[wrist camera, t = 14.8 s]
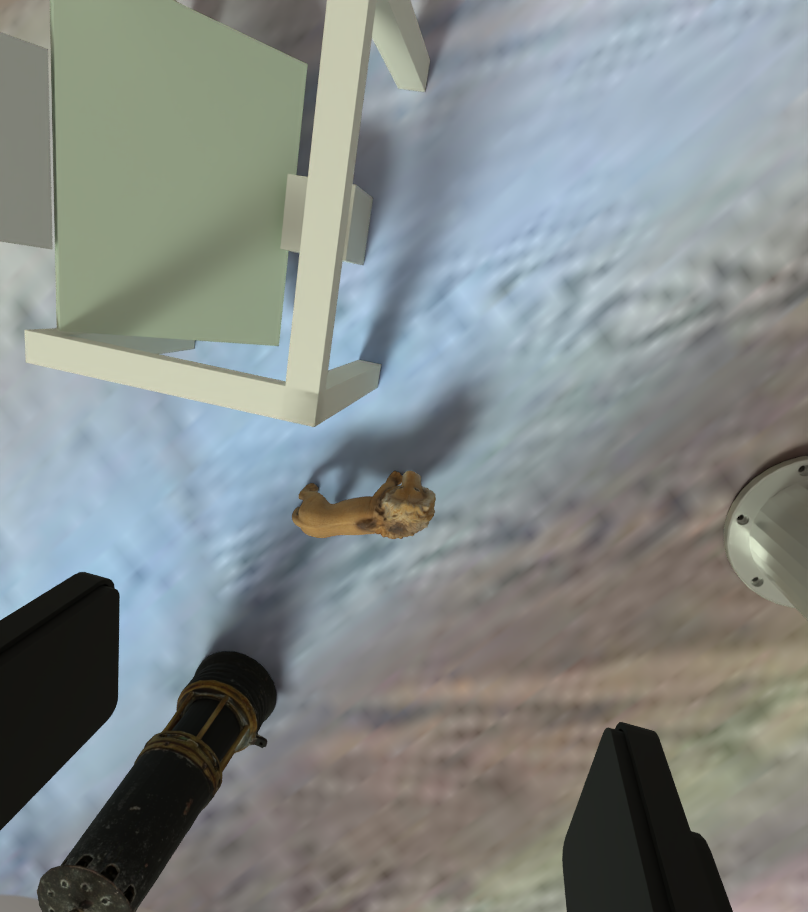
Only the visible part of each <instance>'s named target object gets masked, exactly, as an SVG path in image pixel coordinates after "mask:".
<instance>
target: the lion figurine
mask: <svg viewBox="0 0 808 912" xmlns="http://www.w3.org/2000/svg"><path fill="white" fill-rule="evenodd" d="M401 483H402V485H401V486H397V485H399V484H401ZM299 499H302V500H303V503H302V504H301V506H300V507H297V508H296V509H295V510H294V512H293V514H292V520H293V522H294V523H295V524H296V525H297V526H298V527H300V528H301V529H302V531H303V532H304V533H305V534H307V535H309V536H312V537H317V538H327V537H330V536H336V535H363V534H374V533H376V534H381V535H382V537H388V538H390V539H396V538H400V539H402V538H403V537H408V536H413V535H414V534H415V533H417V532H418V531H421V530H423V529H424V528H427V526H428V524H429V521H430V520H431V519H432V517H433V516H434V513H435V510H434V506H435V500H436V498H435V494H434V492H433V491H431V490H429V489H428V488H425V487H423V486H421V476H420V475H419V474H417V473H415V472H413V471H406V472H405V473H404V474H403V476H402V475H401V474H400V473H399V472H396V471H394V472H392V474H391V475H390V476H389V477H388V478H387V480H386V483H385V484H383V485H382V486H381V487H380V488H379V489H378V491H377V492H376V493H375V494H374V496H373V497H370V496H367V497H359V498H352V499H348V500H344V501H341V502H339V503H336V504H330V503H329V502H328V501H327V500H326V498H325V497H324V496H323V495H321V494H320V493H318V487H317V486H316V485H315V484H313V483H310V484H308V485H306V486H305V487H304V488H303V490H302V491H301V492H300V493H299Z"/></svg>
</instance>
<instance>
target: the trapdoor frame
mask: <svg viewBox="0 0 808 912" xmlns="http://www.w3.org/2000/svg"><path fill="white" fill-rule="evenodd" d="M173 1H175V2H177V1H176V0H173ZM177 3H178V2H177ZM372 39H373V40H374V42H375V44H376V46H377V48H378V50H379V52H380V54H381V56H382V58H383V60H384V62H385V64H386V66H387V67H388V69H389V71H390V73H391V75H392V77H393V79H394V81H395V83H396V85H397V87H398V89H405V90H413V91H420V92H425V89H426V83H427V77H428V71H429V64H430V58H429V55H428V52H427V49H426V46H425V43H424V40H423V37H422V34H421V31H420V28H419V25H418V22H417V19H416V16H415V13H414V10H413V7H412V4H411V1H410V0H327V5H326V15H325V24H324V33H323V42H322V52H321V61H320V70H319V79H318V89H317V98H316V107H315V116H314V126H313V135H312V144H311V153H310V162H309V172H308V181H307V190H306V199H305V209H304V218H303V227H302V236H301V246H300V255H299V264H298V273H297V283H296V292H295V301H294V310H293V320H292V329H291V338H290V347H289V357H288V366H287V375H286V382H285V381H281V380H276V379H271V378H267V377H262V376H257V375H253V374H248V373H243V372H239V371H234V370H229V369H225V368H220V367H215V366H211V365H206V364H201V363H197V362H192V361H187V360H183V359H178V358H173V357H169V356H164V355H159V354H163V353H170V352H177V351H184V350H192V349H194V345H195V340H183V339H169V338H154V337H139V336H124V335H110V334H95V333H80V332H65V331H59V330H58V329H57V328H54V329H34V330H25V353H26V363H31V364H35V365H40V366H44V367H49V368H53V369H58V370H62V371H66V372H71V373H75V374H80V375H84V376H89V377H93V378H98V379H102V380H107V381H111V382H115V383H120V384H124V385H129V386H133V387H138V388H142V389H147V390H151V391H156V392H160V393H165V394H169V395H173V396H178V397H182V398H187V399H191V400H196V401H200V402H205V403H209V404H214V405H218V406H222V407H227V408H231V409H236V410H240V411H245V412H249V413H254V414H258V415H263V416H267V417H272V418H276V419H280V420H285V421H289V422H294V423H298V424H303V425H307V426H312V427H315V426H317V425H318V424H320V423H322V422H323V421H325V420H326V419H328V418H330V417H331V416H333V415H334V414H336V413H338V412H339V411H341V410H342V409H344V408H346V407H347V406H349V405H350V404H352V403H354V402H355V401H357V400H359V399H360V398H362V397H363V396H365V395H367V394H368V393H370V392H371V391H373V390H375V389H376V388H377V387H378V381H379V375H380V369H381V364H377V363H372V362H367V361H362V360H356V361H354V362H351V363H348V364H345V365H343V366H340V367H337V368H334V369H331V370H329V371H328V367H329V359H330V352H331V344H332V336H333V329H334V321H335V314H336V306H337V298H338V291H339V283H340V275H341V268H342V260H343V253H344V245H345V237H346V230H347V222H348V215H349V207H350V199H351V192H352V184H353V177H354V169H355V161H356V154H357V146H358V139H359V131H360V123H361V116H362V108H363V100H364V93H365V85H366V78H367V70H368V62H369V55H370V47H371V40H372Z"/></svg>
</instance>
